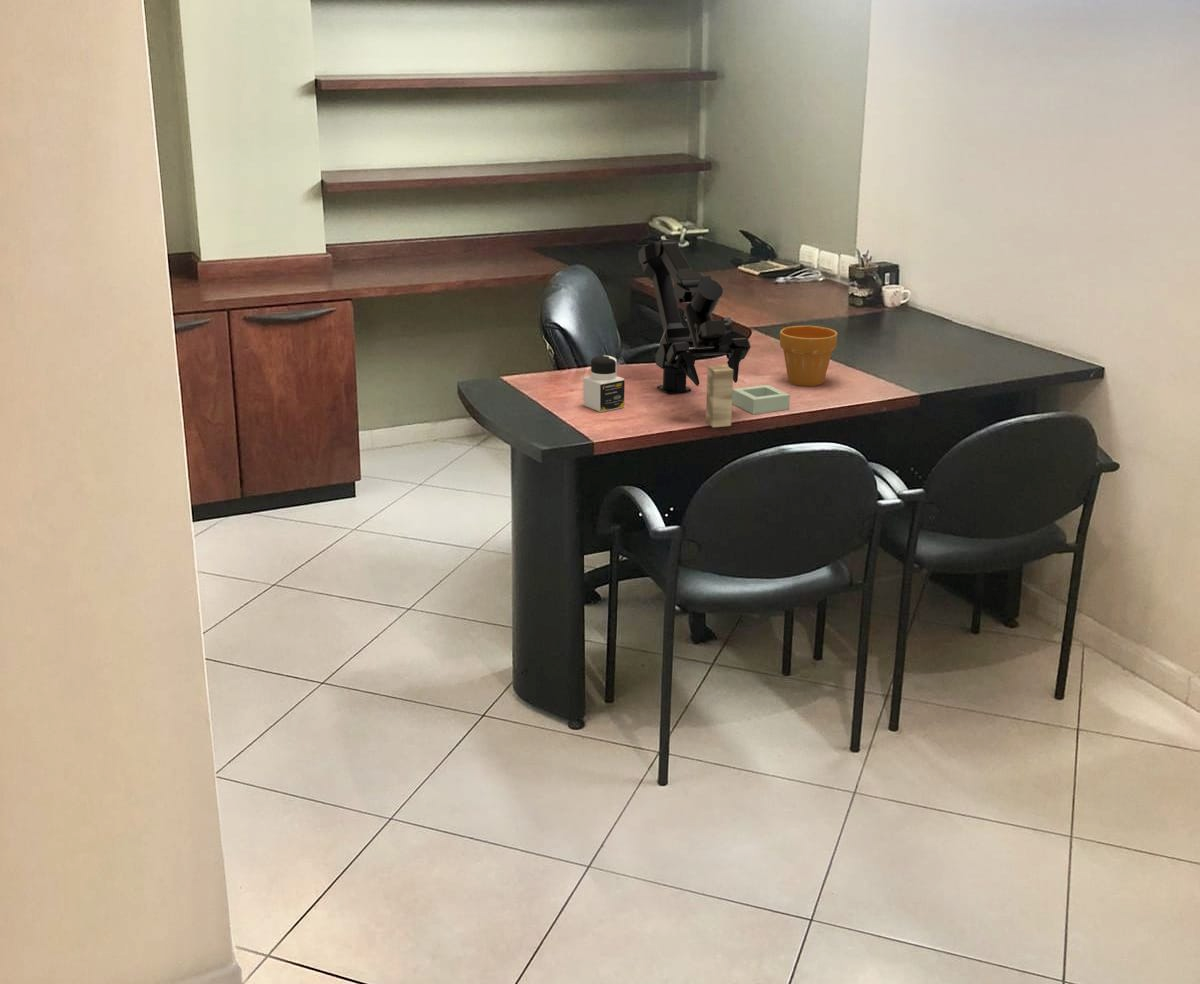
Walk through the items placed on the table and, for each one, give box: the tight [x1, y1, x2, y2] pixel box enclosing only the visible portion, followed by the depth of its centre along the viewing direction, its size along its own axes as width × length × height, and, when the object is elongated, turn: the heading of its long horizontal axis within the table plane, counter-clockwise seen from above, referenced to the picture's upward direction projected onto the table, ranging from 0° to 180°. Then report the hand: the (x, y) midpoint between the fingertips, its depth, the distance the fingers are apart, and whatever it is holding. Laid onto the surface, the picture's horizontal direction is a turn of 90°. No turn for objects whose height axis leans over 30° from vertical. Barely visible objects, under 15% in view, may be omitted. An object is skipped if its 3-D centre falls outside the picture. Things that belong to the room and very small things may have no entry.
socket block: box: [732, 384, 791, 415], centre depth 290 cm, size 10×10×4 cm
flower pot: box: [779, 325, 838, 387], centre depth 309 cm, size 14×14×13 cm
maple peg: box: [705, 364, 734, 428], centre depth 276 cm, size 4×4×13 cm
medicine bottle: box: [582, 355, 625, 413], centre depth 288 cm, size 7×7×12 cm
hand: (717, 383), depth 276 cm, fingers open, 9 cm apart
